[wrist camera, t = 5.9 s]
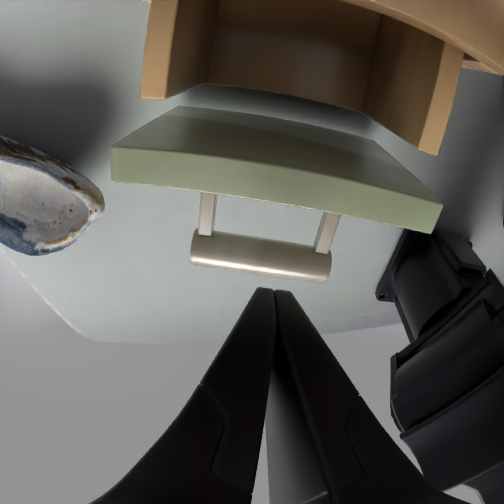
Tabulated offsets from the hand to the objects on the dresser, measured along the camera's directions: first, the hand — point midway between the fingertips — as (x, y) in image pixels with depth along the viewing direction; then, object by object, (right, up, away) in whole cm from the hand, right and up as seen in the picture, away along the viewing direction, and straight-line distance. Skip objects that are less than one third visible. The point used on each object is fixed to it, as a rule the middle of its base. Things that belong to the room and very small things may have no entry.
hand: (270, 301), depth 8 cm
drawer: (+1, +10, +5) cm, 12 cm away
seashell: (-16, +8, +9) cm, 21 cm away
